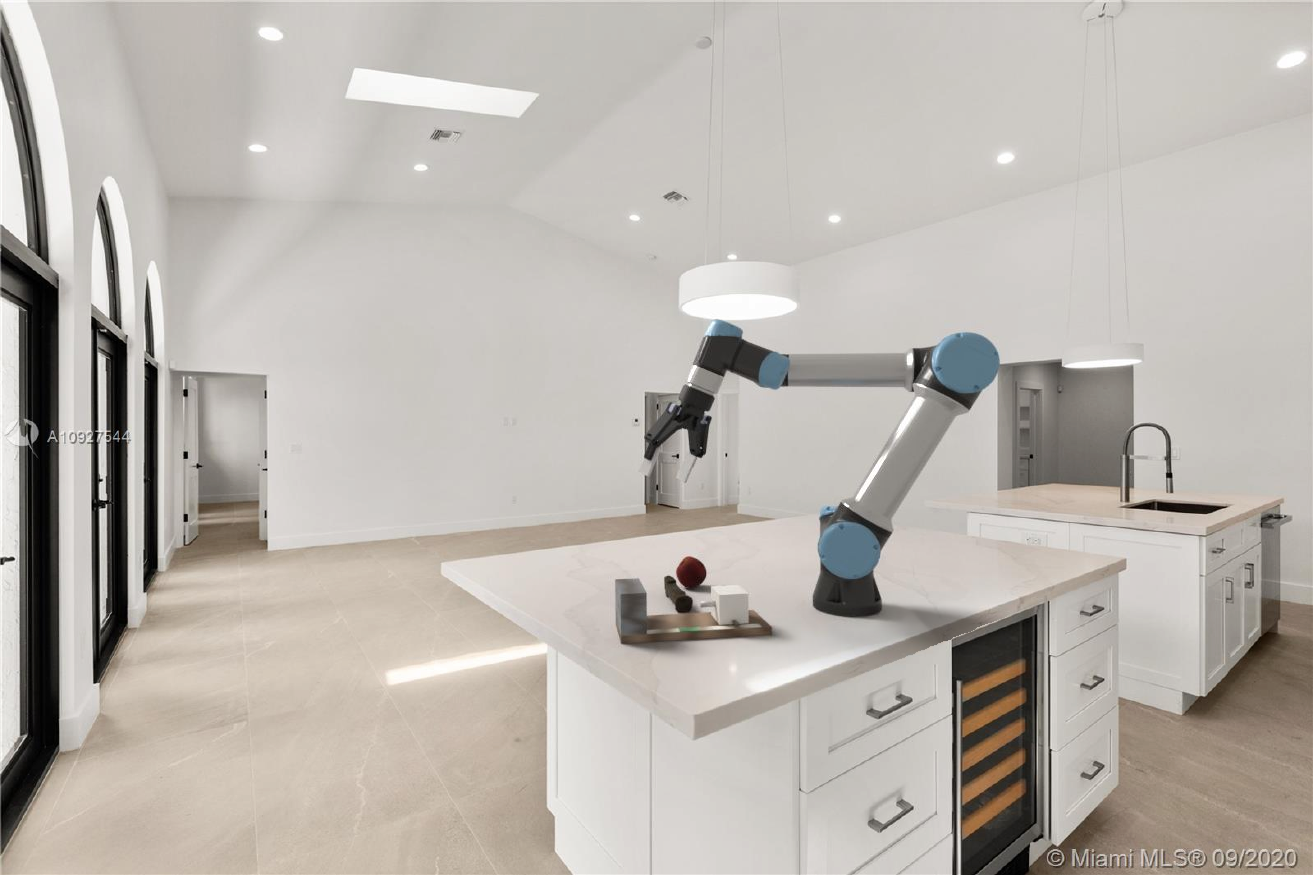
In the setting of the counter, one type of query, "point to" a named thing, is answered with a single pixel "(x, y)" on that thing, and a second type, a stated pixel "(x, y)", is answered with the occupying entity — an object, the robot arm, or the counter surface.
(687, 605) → the hand tool
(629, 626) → the gauge board
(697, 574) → the apple
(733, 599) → the gauge slider
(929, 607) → the counter surface
